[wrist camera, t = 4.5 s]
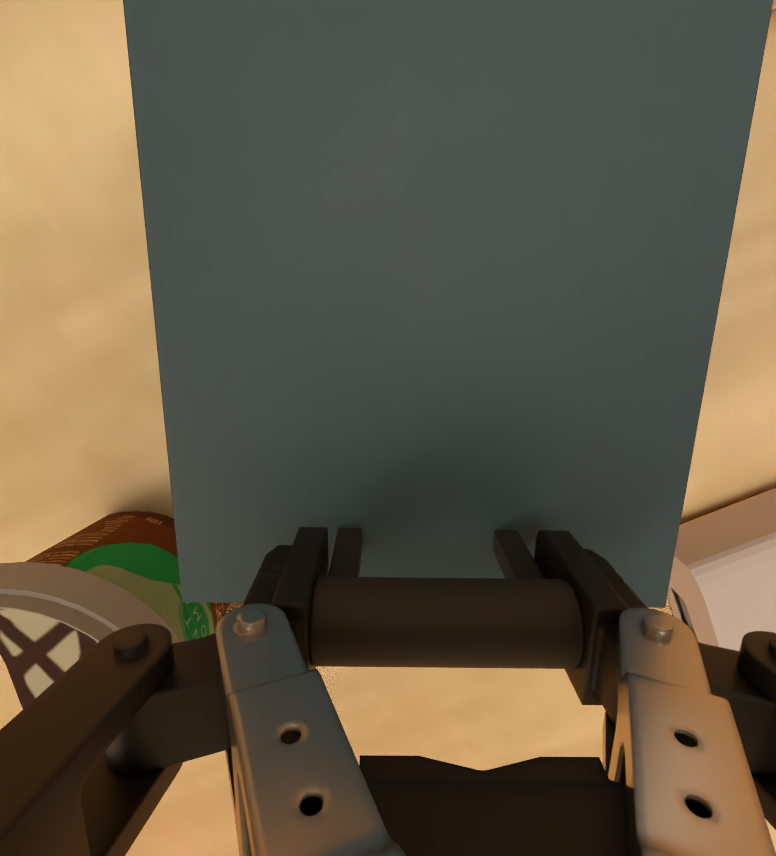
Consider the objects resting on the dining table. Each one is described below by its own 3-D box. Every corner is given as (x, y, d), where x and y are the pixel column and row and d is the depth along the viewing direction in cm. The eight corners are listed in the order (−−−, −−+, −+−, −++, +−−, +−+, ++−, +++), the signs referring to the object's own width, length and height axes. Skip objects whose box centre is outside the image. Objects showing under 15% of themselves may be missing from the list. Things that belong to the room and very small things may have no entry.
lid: (651, 593, 16) (787, 742, 10) (191, 588, 16) (92, 736, 10) (757, -28, 12) (1069, -301, 6) (133, -43, 12) (-83, -336, 6)
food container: (280, 649, 29) (230, 820, 20) (184, 675, 30) (88, 855, 20) (202, 459, 26) (97, 551, 17) (95, 491, 27) (-67, 598, 17)
